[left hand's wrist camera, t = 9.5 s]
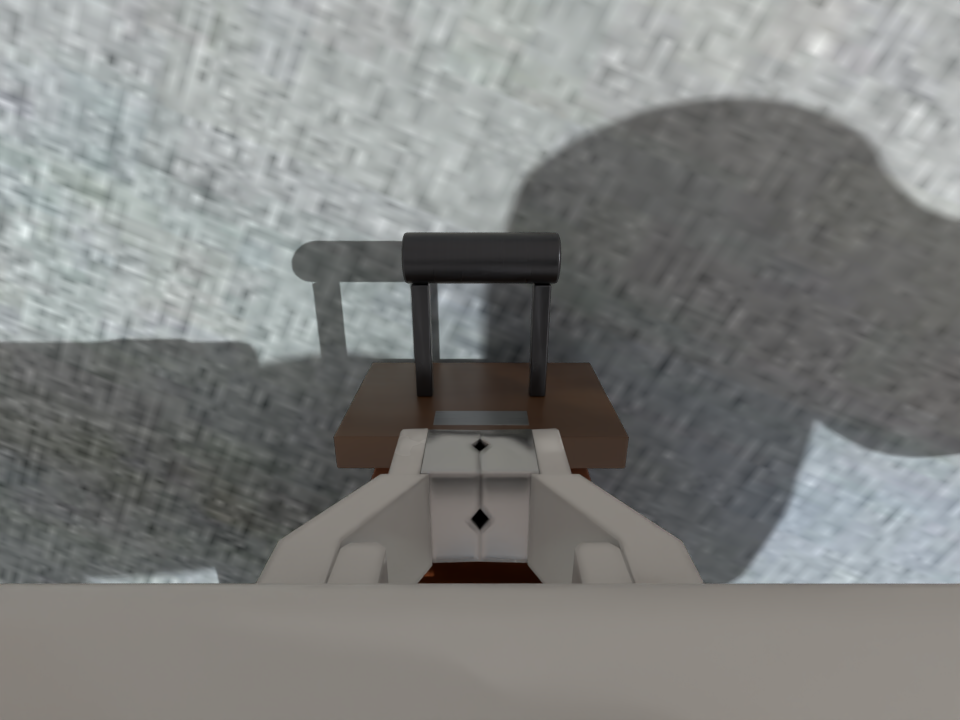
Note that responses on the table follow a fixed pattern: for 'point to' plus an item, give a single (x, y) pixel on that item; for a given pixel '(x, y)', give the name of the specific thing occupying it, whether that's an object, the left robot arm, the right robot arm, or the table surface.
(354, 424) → the drawer
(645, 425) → the table surface
